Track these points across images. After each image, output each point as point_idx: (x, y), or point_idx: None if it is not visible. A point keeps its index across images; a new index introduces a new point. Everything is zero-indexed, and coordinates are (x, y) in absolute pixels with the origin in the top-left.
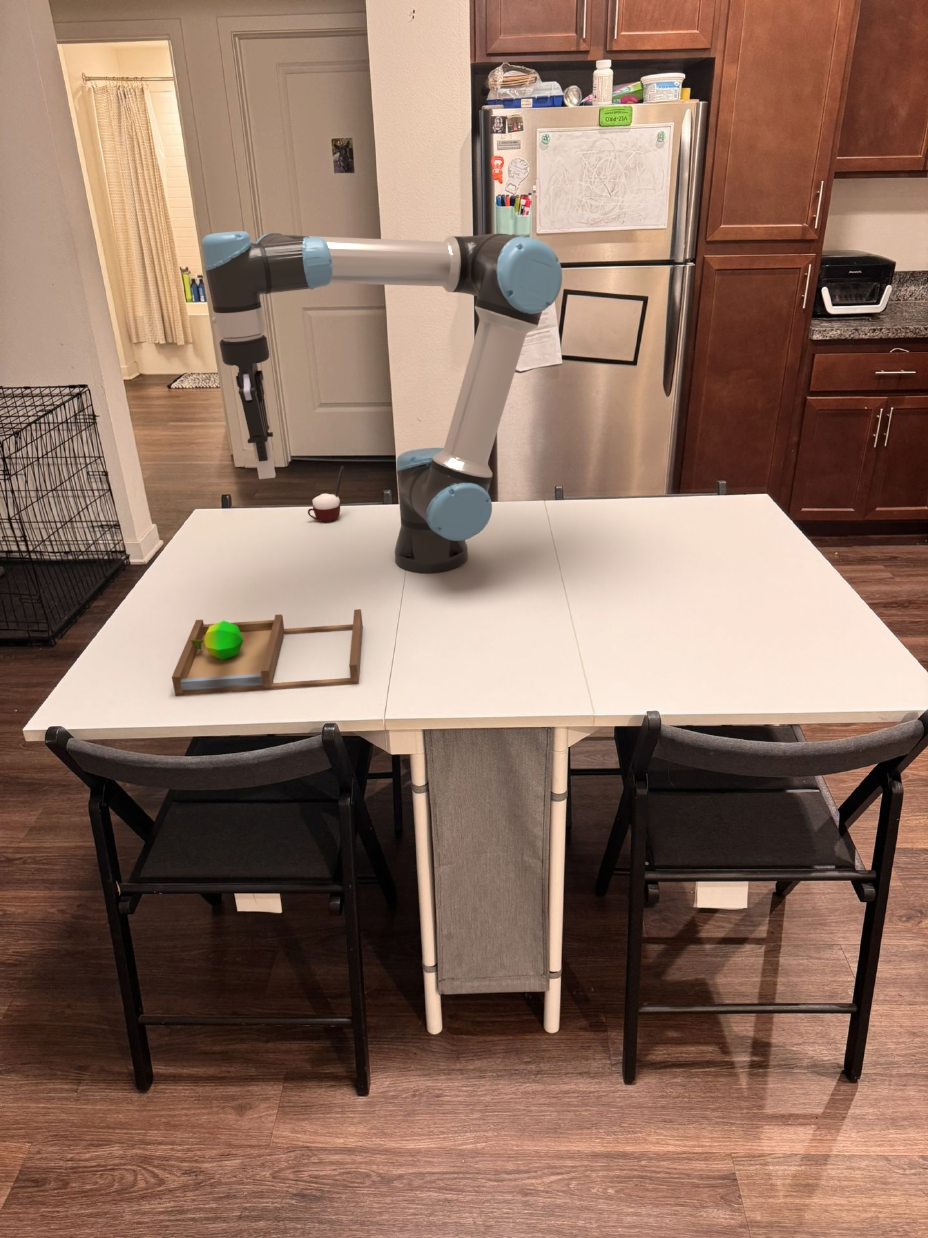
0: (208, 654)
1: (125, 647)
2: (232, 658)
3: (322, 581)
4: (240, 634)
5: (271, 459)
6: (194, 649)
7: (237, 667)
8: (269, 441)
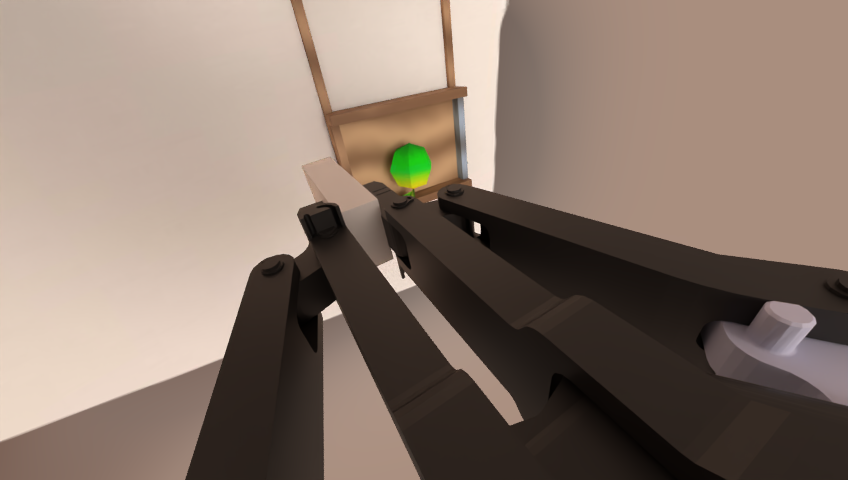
0: None
1: None
2: None
3: (90, 101)
4: (410, 147)
5: (349, 175)
6: None
7: (426, 138)
8: (346, 204)
